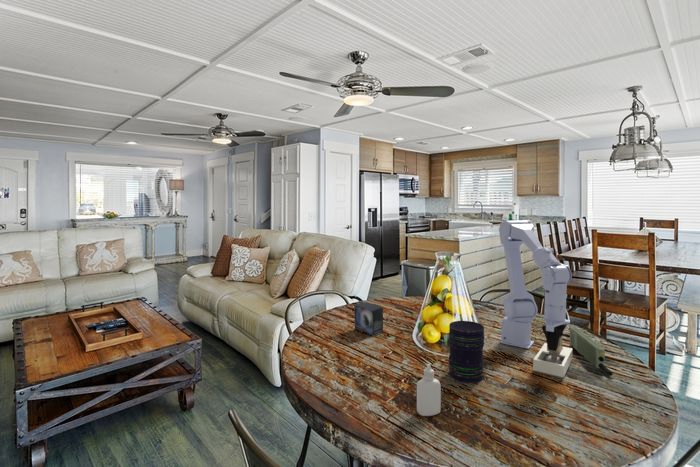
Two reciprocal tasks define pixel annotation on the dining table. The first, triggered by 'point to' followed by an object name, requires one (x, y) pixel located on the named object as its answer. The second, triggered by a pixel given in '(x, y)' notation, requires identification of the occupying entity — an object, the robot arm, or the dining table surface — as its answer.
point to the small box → (368, 318)
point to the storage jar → (466, 351)
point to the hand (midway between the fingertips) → (553, 347)
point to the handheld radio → (588, 349)
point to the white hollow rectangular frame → (549, 367)
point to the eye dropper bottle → (428, 394)
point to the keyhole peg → (555, 354)
